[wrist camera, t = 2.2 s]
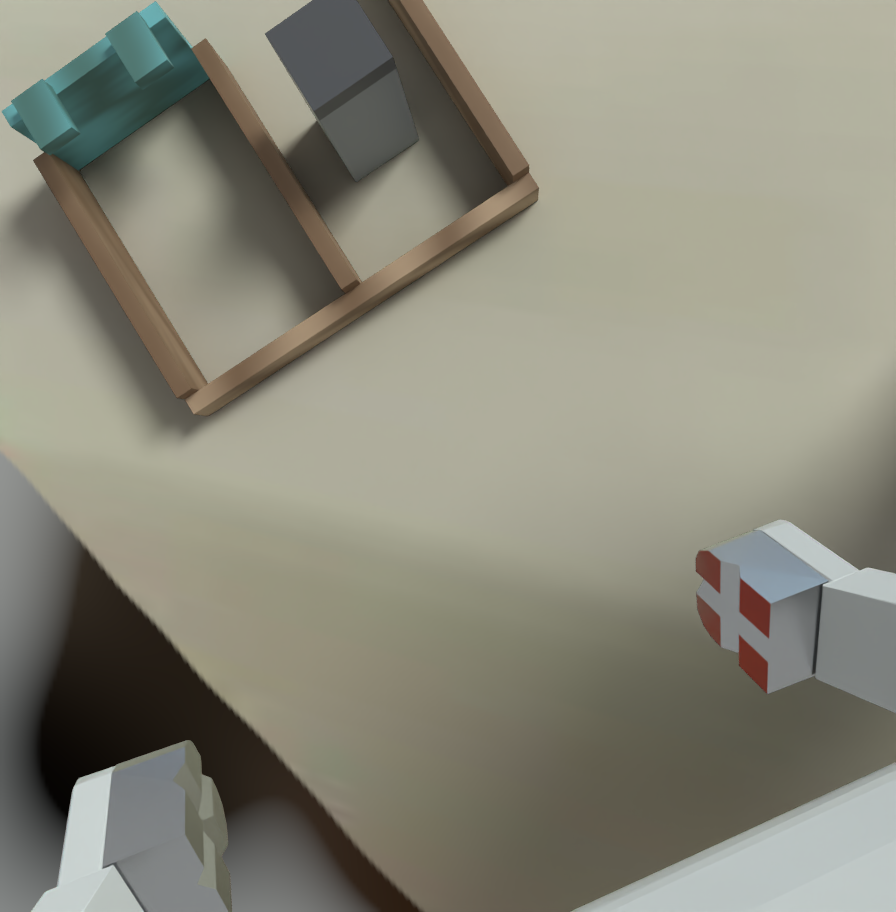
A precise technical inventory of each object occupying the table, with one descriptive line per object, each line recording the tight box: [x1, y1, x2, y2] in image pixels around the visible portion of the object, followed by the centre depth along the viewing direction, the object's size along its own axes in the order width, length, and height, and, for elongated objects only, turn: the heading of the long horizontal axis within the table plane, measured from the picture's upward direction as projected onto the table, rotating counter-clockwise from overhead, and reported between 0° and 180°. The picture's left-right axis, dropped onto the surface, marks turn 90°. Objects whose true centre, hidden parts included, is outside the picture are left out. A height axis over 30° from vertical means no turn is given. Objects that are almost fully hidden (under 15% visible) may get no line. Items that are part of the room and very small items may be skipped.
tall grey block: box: [265, 0, 419, 182], centre depth 39 cm, size 4×4×9 cm
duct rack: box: [2, 0, 539, 416], centre depth 40 cm, size 23×18×7 cm
